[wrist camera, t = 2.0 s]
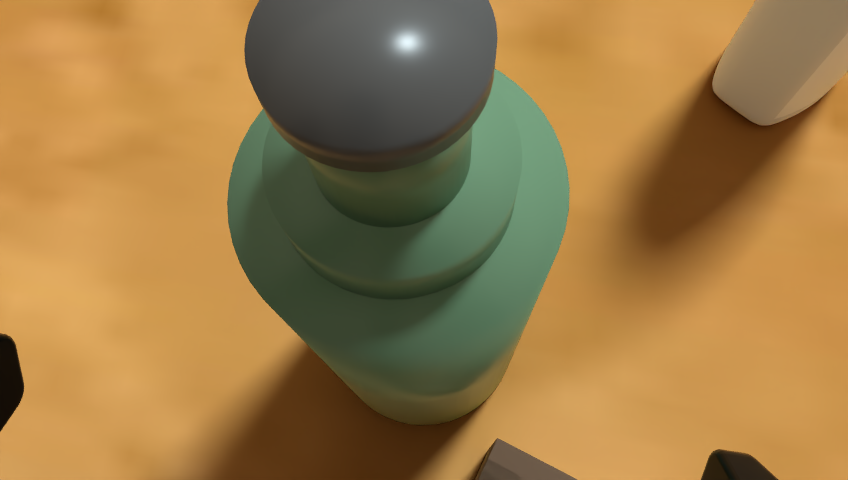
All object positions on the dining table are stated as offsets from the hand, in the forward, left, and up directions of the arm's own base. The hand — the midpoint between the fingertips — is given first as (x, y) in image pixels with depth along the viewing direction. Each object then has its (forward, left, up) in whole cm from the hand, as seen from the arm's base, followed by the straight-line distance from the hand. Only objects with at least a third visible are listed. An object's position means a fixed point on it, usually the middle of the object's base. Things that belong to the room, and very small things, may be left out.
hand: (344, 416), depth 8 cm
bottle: (+3, +2, -10) cm, 11 cm away
